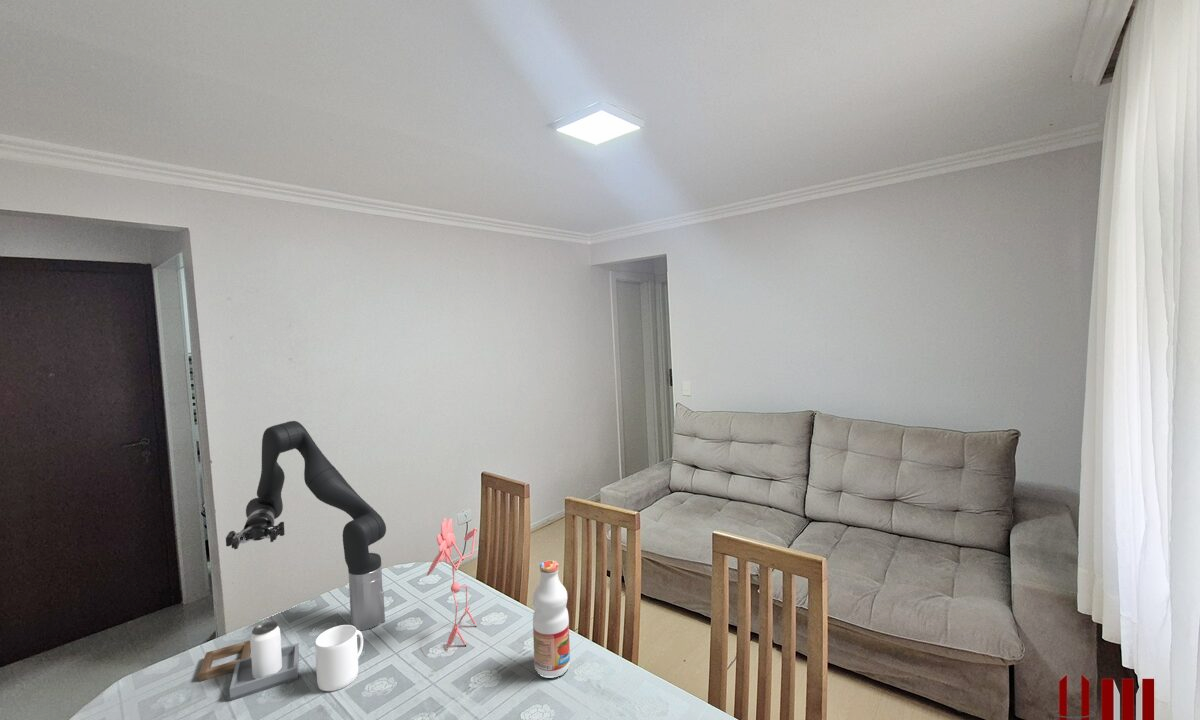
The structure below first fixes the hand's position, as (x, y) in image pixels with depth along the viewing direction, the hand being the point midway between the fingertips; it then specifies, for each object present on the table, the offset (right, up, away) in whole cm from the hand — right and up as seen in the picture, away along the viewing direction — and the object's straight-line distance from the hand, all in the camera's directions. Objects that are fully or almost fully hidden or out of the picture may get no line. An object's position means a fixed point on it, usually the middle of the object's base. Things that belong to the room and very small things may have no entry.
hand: (253, 542), depth 138 cm
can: (+13, -30, -12) cm, 35 cm away
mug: (+33, -30, -13) cm, 46 cm away
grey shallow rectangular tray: (+13, -30, -12) cm, 35 cm away
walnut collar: (-2, -30, -7) cm, 31 cm away
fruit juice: (+88, -29, -12) cm, 93 cm away
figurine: (+56, -29, +3) cm, 63 cm away
